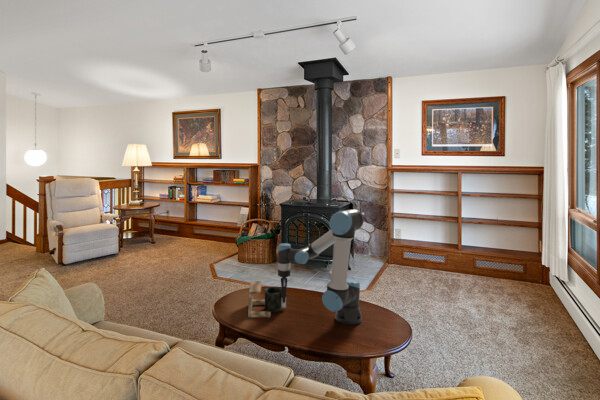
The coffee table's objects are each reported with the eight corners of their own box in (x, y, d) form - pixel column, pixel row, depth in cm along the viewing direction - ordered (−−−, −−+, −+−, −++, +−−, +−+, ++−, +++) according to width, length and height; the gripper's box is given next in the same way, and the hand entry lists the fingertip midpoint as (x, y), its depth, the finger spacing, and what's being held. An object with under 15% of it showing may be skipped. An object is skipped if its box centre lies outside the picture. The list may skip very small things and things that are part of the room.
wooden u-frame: (270, 303, 228) (270, 280, 226) (270, 317, 206) (270, 292, 205) (250, 303, 227) (250, 280, 225) (248, 318, 205) (248, 292, 204)
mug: (283, 306, 223) (284, 287, 222) (278, 316, 209) (278, 296, 208) (267, 305, 225) (267, 286, 224) (260, 314, 211) (260, 294, 210)
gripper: (277, 266, 222) (277, 302, 224) (278, 272, 209) (277, 311, 211) (289, 266, 222) (289, 302, 225) (290, 272, 209) (290, 311, 212)
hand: (283, 307), depth 218 cm, fingers closed
